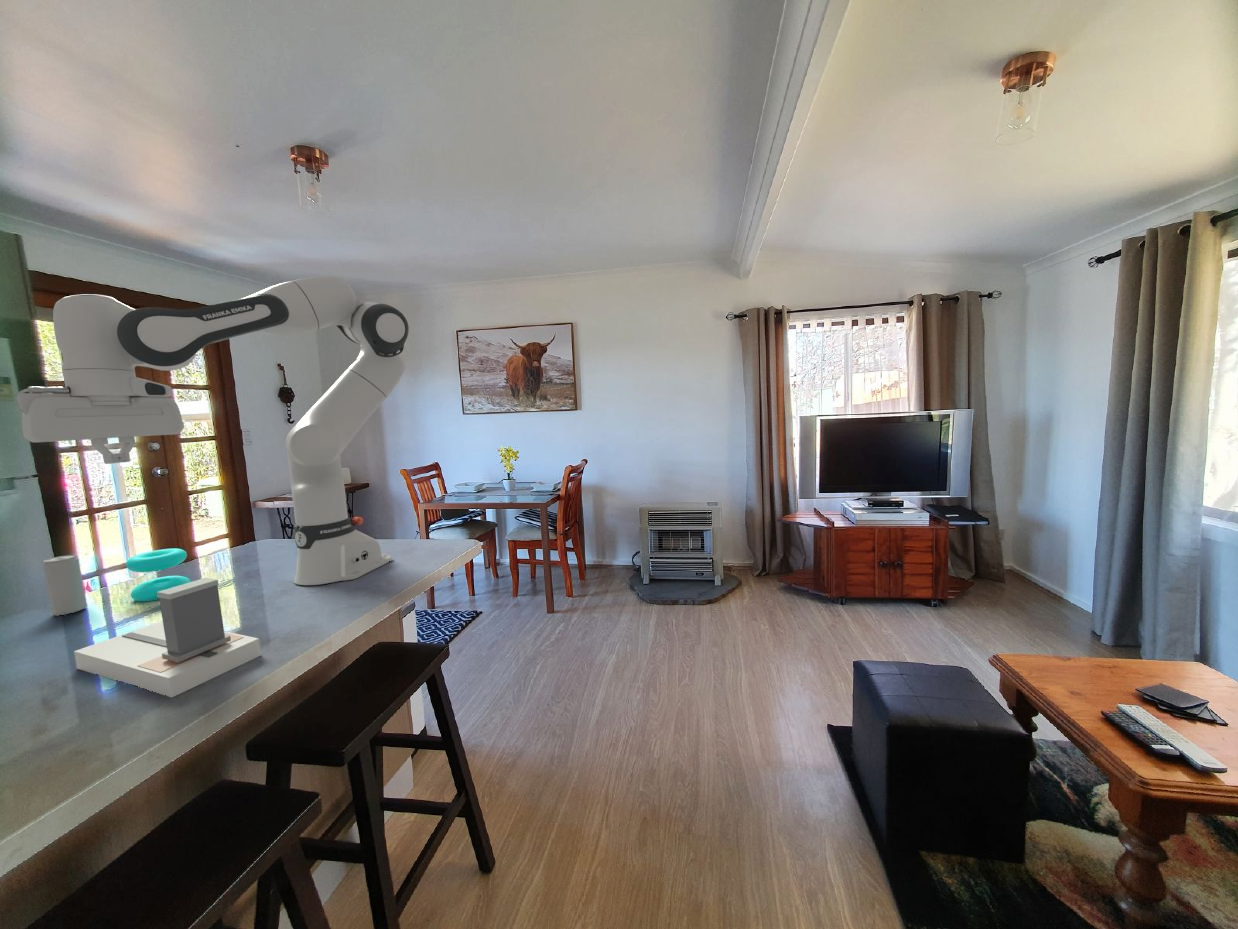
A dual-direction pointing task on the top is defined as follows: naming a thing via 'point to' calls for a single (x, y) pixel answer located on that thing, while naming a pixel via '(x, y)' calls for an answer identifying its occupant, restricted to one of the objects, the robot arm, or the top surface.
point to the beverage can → (64, 584)
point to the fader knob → (191, 619)
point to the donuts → (156, 563)
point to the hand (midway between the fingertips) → (117, 462)
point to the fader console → (162, 660)
